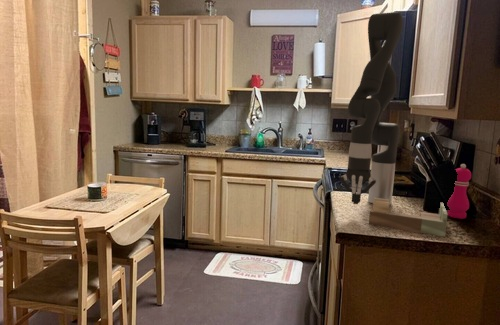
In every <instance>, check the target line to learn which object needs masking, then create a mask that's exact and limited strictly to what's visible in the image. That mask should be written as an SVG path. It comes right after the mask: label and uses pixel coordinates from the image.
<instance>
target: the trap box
mask: <svg viewBox="0 0 500 325" xmlns="http://www.w3.org/2000/svg"><path fill="white" fill-rule="evenodd" d="M398 210H399V211H398V212H394V211H388V213H382V212H375V211H373V209H372V210H370V212H369V218H368V225H369V226H376V227H382V228H389V229H395V230H396V229H397V230H403V231H409V232H413V233H421V234H428V235H434V236H441V237H446V232H447V224H448V222H447V221H448V214H447V213H448V210H446V208H445V206H444V203H443V202H440V208H438V213H432V212H424V211H419V212H420V213H419V215H416V214H415V215H414V214H408V213H403V209H402V208H399V209H398Z"/></svg>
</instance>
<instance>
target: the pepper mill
mask: <svg viewBox="0 0 500 325" xmlns="http://www.w3.org/2000/svg"><path fill="white" fill-rule="evenodd" d="M455 170H456V172H457V174H458V175H457V181H455V183H454V184H455V187H454V192H453V194H452V195H451V197H450V198H449V200H448V202H447V206H448V207H449V209H450V210H447V214H448V215H447V217H451V218H455V219H460V220H462V219H466V218H467V211H468V210H469V209H470V201H469V199H468V195H467V188H468V187H469V183H470V182H469V181H471V179H472V172H471V171H470V170H469V168H467V165H466V164H465V163H461V164H460V167H458V168H456V169H455Z"/></svg>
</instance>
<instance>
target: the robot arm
mask: <svg viewBox="0 0 500 325" xmlns="http://www.w3.org/2000/svg"><path fill="white" fill-rule="evenodd" d="M403 19H404V18H403V16H402V14H401V13H400V12H398V11H394V12H393V11H392V12H391V11H390V12H379V13H373V14H371V15H370V17H369V19H368V22H367V37H368V39H367V40H368V47H369V61H368V63H367V64H366V65H365V67H364V69H363V72H362V76H361V78H360V82H359V85H358V87H357V88H356V91H355V92H354V93H353V95H352V97H351V99H350V100H349V103H348V106H347V111H348V112H347V113H348V114H349V117H351V118H352V119H360V120H362V119H363V120H364V122H363V124H359V125H354V126H352V129H351V134H350V144H349V148H348V159H347V160H348V161H347V169H346V172H345V174H343V175H341V176H340V177H339V181H340V182H341V184H342V185H343V186H344V188H345V189H346V191H347V192H350V193H351V202H352V203H353V205H358V204H360V202H361V196H362V194H366V193H367V192H368V195H367V197H368V199H367V202H368V203H370V204H373V201H374V198H381V199H388V200H390V201H389V206H391V205H392V199H393V190H394V182H395V181H394V180H395V171H396V170H395V169H396V162H397V153H398V146H399V139H400V133H401V132H400V125H399V124H397V123H391V122H381V118H382V115H383V113H384V111H385V109H386V108H387V106H388V105H389V104H390V102H391V101H392V99H394V96H395V94H396V91H397V74H396V72H395V69H394V68H393V66H392V65H391V63H390V61H391V58H392V56H393V53H394V51H395V49H396V47H397V44H398V42H399V39H400V36H401V35H402V31H403V27H404V26H403V25H404V20H403ZM382 41H385V42H384V44H383V45H382ZM372 144H373V145H376V146H384V147H387V149H385V150H384V151H382V152H376V153H373V152H372V149H373V148H372ZM372 153H373V154H372ZM348 181H349V182H350V184H349V182H348ZM367 181H368V184H367V185H366V186H365V187H364V188H363V185H365V183H367Z"/></svg>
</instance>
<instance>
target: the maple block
mask: <svg viewBox="0 0 500 325" xmlns="http://www.w3.org/2000/svg"><path fill="white" fill-rule="evenodd" d="M389 201H390V200H388V199H381V198H374V201H373V203H372V210H373V211H375V212H382V213H388V212H390V211H389V209H390V205H389Z"/></svg>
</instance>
